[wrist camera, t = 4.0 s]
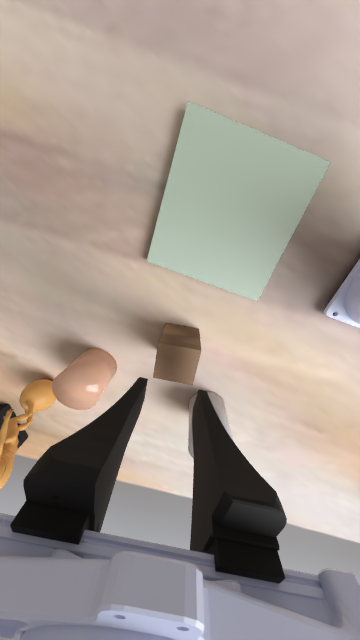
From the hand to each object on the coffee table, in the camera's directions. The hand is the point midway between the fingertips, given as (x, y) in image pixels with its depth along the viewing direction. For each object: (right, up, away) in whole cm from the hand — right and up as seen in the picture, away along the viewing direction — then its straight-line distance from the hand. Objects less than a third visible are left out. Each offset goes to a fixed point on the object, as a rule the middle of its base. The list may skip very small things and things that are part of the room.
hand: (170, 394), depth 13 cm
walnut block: (+1, +3, +8) cm, 9 cm away
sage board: (+5, +15, +3) cm, 16 cm away
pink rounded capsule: (-10, 0, +10) cm, 14 cm away
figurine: (-17, -4, +12) cm, 21 cm away
